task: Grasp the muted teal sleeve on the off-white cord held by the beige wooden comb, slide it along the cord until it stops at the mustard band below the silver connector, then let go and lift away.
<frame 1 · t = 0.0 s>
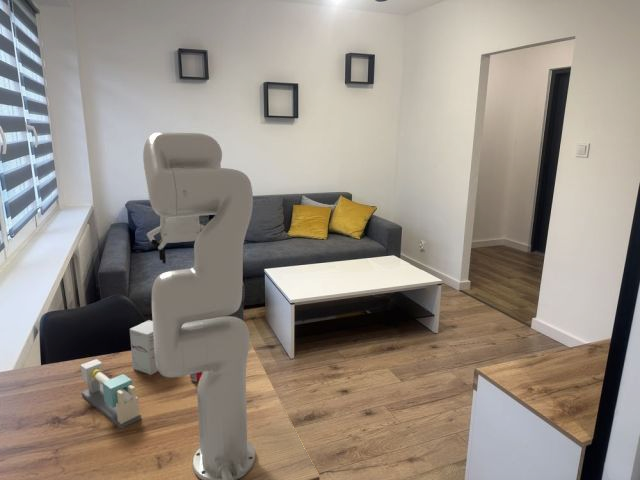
hand: (181, 260, 123), 31 cm above the table, tool pointing down, fingers open, 9 cm apart
sleeve: (118, 390, 104), point 6 cm above the table, slide at 0.0 cm
beverage can: (201, 378, 122), on the table
supplement box: (151, 367, 127), on the table
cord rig: (110, 406, 109), on the table
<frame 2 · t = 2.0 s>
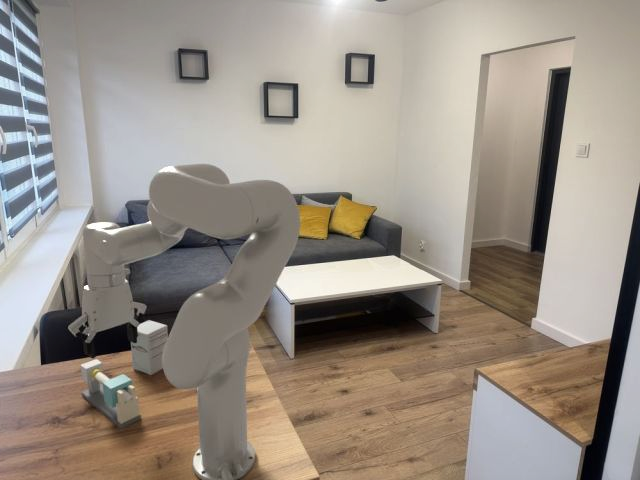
hand: (112, 348, 102), 17 cm above the table, tool pointing down, fingers open, 9 cm apart
nothing on the table moved.
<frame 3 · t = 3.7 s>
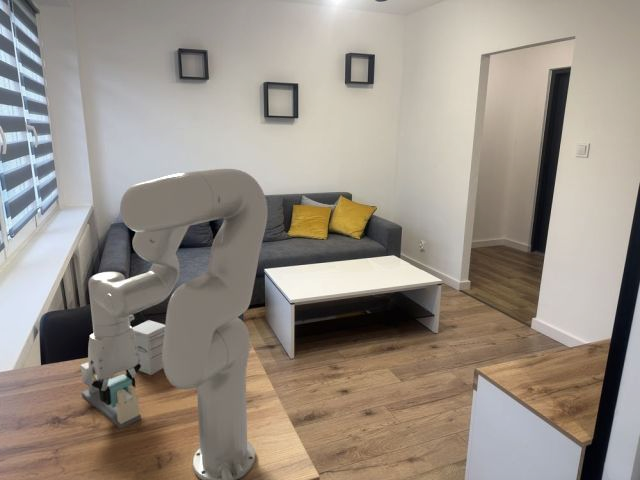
hand: (118, 396, 104), 5 cm above the table, tool pointing down, fingers closed on sleeve, 5 cm apart
sleeve: (118, 390, 104), point 6 cm above the table, slide at 0.0 cm, touching gripper
everything else where it was.
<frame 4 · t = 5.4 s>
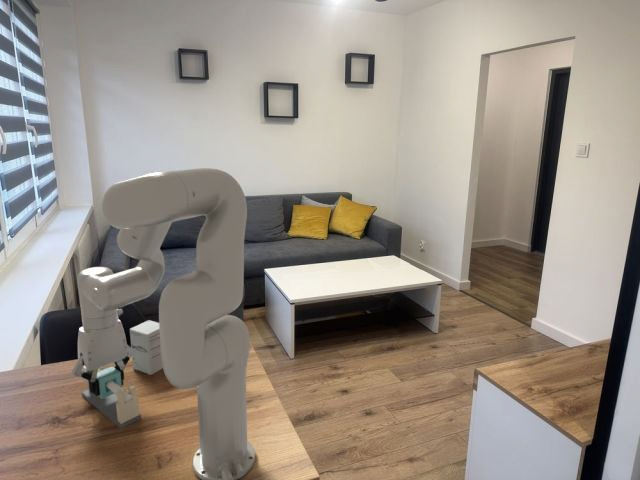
hand: (107, 387, 108), 5 cm above the table, tool pointing down, fingers closed on sleeve, 5 cm apart
sleeve: (107, 382, 107), point 6 cm above the table, slide at 5.5 cm, touching gripper
everything else where it was.
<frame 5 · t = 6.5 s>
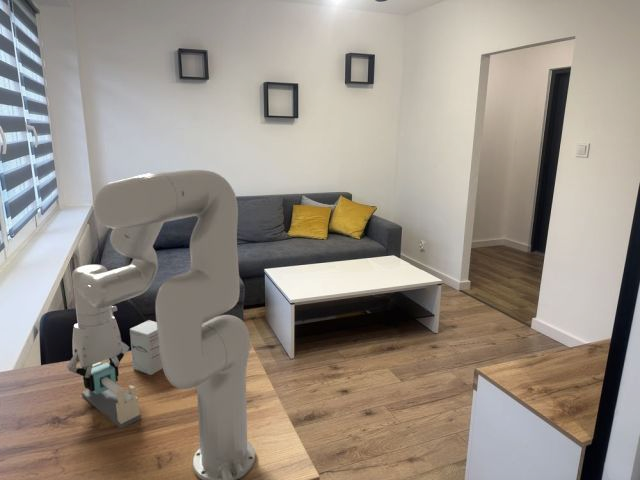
hand: (102, 383, 110), 5 cm above the table, tool pointing down, fingers closed on sleeve, 5 cm apart
sleeve: (101, 378, 109), point 7 cm above the table, slide at 8.3 cm, touching gripper
everything else where it was.
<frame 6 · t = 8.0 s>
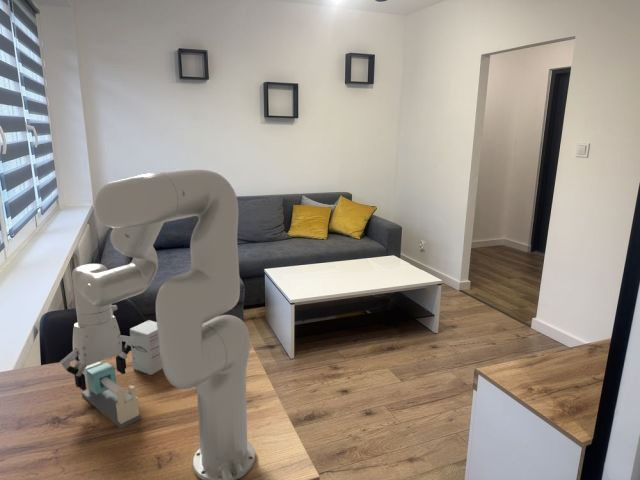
hand: (102, 379, 109), 6 cm above the table, tool pointing down, fingers open, 9 cm apart
sleeve: (101, 378, 109), point 6 cm above the table, slide at 8.2 cm
everything else where it was.
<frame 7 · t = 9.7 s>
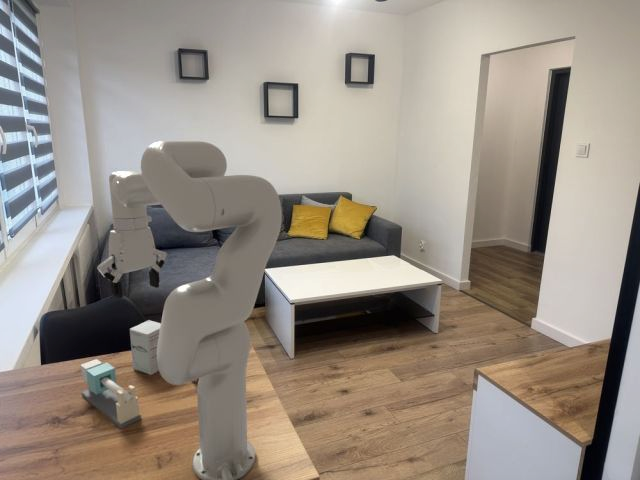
hand: (136, 291, 109), 28 cm above the table, tool pointing down, fingers open, 9 cm apart
nothing on the table moved.
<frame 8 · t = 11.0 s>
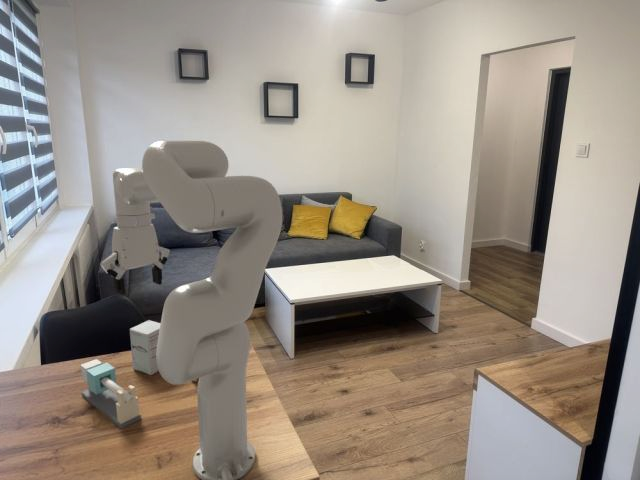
hand: (139, 288, 109), 28 cm above the table, tool pointing down, fingers open, 9 cm apart
nothing on the table moved.
at the end: sleeve slide at 8.2 cm; the gripper is holding nothing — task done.
